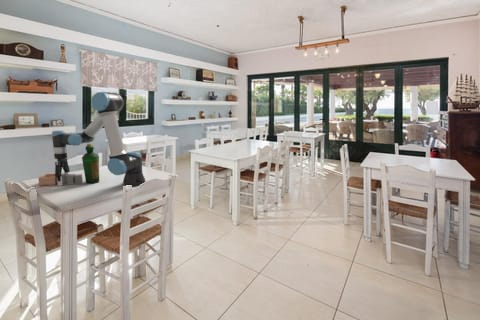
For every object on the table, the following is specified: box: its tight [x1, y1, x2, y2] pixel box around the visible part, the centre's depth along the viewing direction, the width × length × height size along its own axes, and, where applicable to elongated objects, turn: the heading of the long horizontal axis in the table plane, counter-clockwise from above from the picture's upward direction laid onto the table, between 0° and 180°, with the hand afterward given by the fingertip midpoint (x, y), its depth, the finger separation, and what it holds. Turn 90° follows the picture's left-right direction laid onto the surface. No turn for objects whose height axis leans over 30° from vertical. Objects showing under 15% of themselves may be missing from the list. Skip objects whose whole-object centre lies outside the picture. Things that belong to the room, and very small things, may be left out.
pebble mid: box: [66, 173, 76, 185], centre depth 194 cm, size 4×4×6 cm
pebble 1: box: [61, 172, 69, 185], centre depth 193 cm, size 4×4×7 cm
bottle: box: [81, 143, 100, 185], centre depth 196 cm, size 11×11×28 cm
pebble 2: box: [74, 173, 84, 185], centre depth 195 cm, size 4×4×6 cm
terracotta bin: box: [37, 173, 58, 187], centre depth 192 cm, size 10×10×6 cm
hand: (63, 183), depth 194 cm, fingers open, 10 cm apart
